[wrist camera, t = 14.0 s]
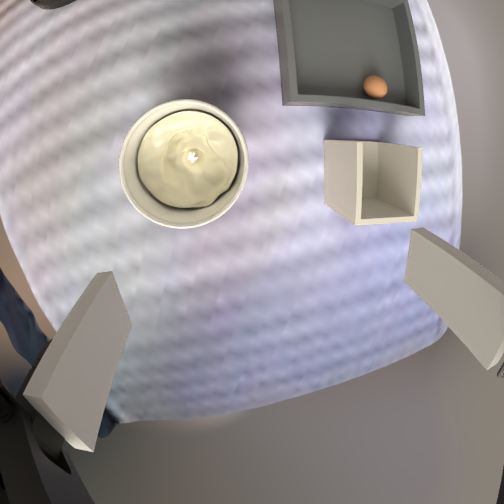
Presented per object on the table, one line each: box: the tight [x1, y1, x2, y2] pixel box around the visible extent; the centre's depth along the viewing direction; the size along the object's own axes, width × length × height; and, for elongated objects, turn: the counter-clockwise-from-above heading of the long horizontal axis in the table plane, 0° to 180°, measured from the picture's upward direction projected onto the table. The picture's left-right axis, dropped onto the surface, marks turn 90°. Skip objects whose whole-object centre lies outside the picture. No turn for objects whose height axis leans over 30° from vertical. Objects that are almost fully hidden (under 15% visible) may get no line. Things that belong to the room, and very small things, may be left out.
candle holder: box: [119, 99, 249, 228], centre depth 24 cm, size 10×10×12 cm
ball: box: [363, 75, 388, 99], centre depth 26 cm, size 3×3×3 cm
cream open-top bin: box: [323, 140, 422, 226], centre depth 28 cm, size 8×8×9 cm
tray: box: [274, 0, 425, 116], centre depth 24 cm, size 18×18×4 cm
